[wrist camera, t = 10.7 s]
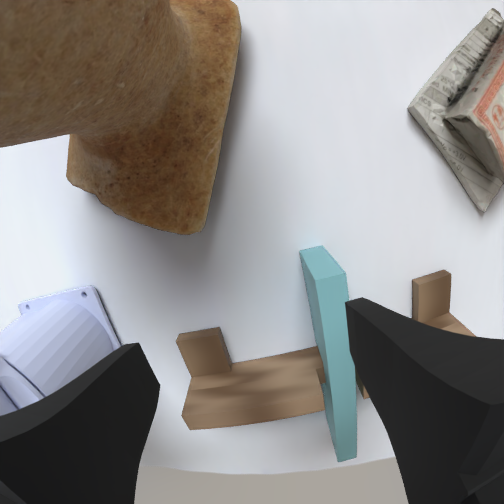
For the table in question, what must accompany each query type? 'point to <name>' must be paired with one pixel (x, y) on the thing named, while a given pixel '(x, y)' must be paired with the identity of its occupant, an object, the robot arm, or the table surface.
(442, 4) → the table surface
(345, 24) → the table surface
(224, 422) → the notched board
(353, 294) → the table surface
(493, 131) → the packaged product
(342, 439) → the slotted panel
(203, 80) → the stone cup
